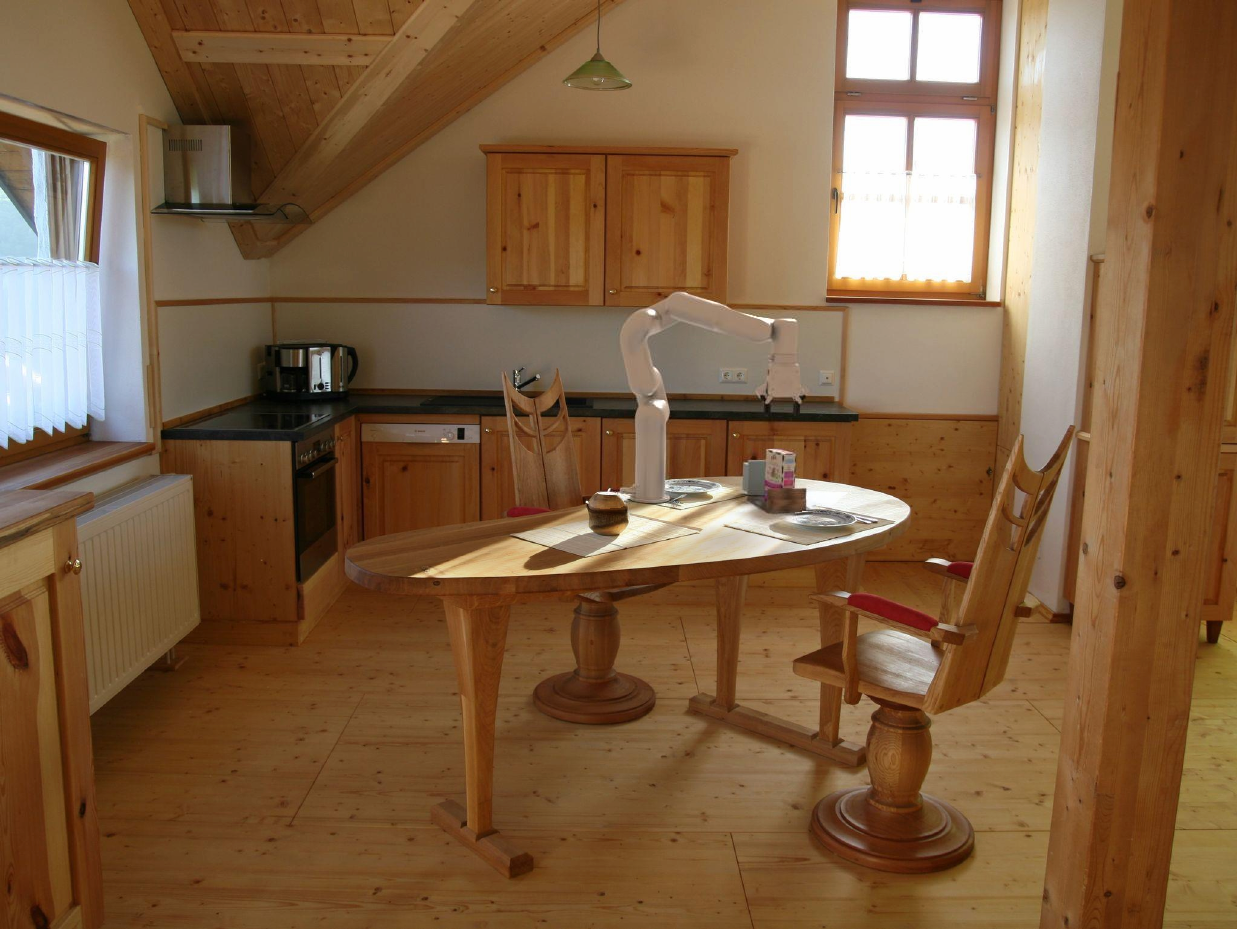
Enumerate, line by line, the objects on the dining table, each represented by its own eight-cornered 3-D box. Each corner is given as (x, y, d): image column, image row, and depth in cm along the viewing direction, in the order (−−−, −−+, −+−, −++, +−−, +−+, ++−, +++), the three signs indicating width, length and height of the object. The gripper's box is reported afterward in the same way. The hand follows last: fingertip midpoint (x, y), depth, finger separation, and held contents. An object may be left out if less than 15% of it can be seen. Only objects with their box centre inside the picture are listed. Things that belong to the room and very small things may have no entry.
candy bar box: (795, 506, 330) (797, 453, 327) (780, 506, 328) (782, 454, 325) (777, 499, 340) (779, 448, 337) (763, 500, 338) (765, 448, 335)
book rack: (768, 513, 321) (769, 491, 320) (746, 499, 343) (747, 478, 342) (812, 512, 324) (813, 490, 323) (788, 498, 345) (789, 477, 344)
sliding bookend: (747, 494, 345) (748, 461, 343) (739, 489, 354) (740, 456, 352) (783, 494, 347) (784, 460, 345) (774, 488, 356) (775, 456, 354)
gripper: (760, 360, 321) (758, 418, 324) (815, 360, 324) (812, 417, 327) (752, 358, 329) (750, 415, 331) (806, 358, 332) (804, 414, 335)
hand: (781, 416), depth 329 cm, fingers open, 8 cm apart
